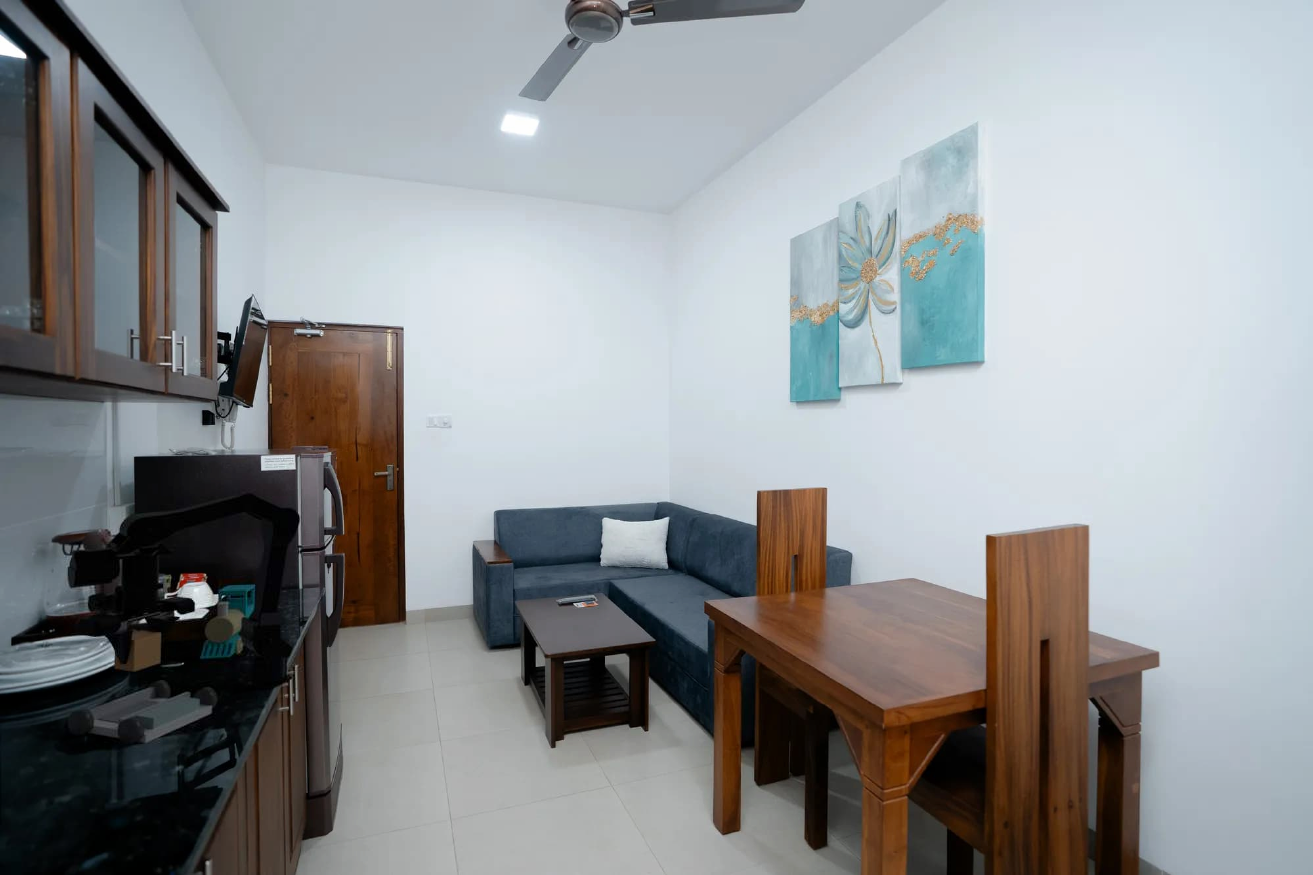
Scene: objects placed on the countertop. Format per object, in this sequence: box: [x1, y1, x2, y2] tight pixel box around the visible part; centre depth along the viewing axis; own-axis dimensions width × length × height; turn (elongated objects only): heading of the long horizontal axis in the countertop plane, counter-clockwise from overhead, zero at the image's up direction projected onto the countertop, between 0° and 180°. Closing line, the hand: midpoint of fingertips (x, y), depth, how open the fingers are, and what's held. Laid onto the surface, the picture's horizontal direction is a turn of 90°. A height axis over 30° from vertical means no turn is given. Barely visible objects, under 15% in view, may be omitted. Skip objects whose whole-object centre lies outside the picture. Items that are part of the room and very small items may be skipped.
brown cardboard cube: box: [113, 629, 162, 672], centre depth 124 cm, size 5×5×6 cm
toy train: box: [199, 584, 256, 660], centre depth 164 cm, size 8×17×15 cm, turn 15°
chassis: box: [67, 679, 218, 746], centre depth 123 cm, size 16×17×4 cm
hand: (138, 659), depth 124 cm, fingers closed on brown cardboard cube, 5 cm apart
